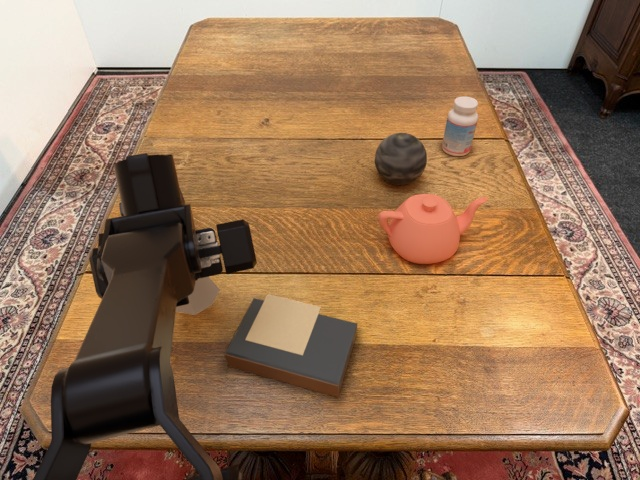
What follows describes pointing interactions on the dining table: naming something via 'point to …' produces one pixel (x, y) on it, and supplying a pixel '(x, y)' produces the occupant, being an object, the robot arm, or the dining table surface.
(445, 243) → the teapot
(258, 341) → the grey and beige box
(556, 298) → the dining table surface
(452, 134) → the pill bottle
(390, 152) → the decorative stone
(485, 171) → the dining table surface
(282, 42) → the dining table surface
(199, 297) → the octagonal bud vase
